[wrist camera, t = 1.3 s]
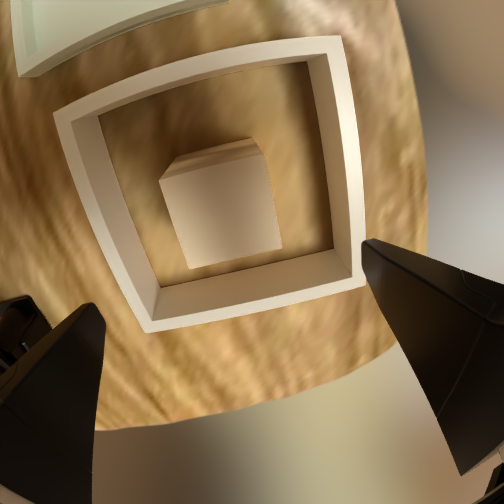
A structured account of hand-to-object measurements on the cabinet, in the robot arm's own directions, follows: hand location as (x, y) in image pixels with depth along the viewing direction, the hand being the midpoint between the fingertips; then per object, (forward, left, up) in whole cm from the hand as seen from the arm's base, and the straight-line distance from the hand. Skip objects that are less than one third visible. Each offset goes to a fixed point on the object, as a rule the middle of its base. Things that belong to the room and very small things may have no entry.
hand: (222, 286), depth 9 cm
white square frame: (0, 0, -12) cm, 12 cm away
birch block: (0, 0, -12) cm, 12 cm away
